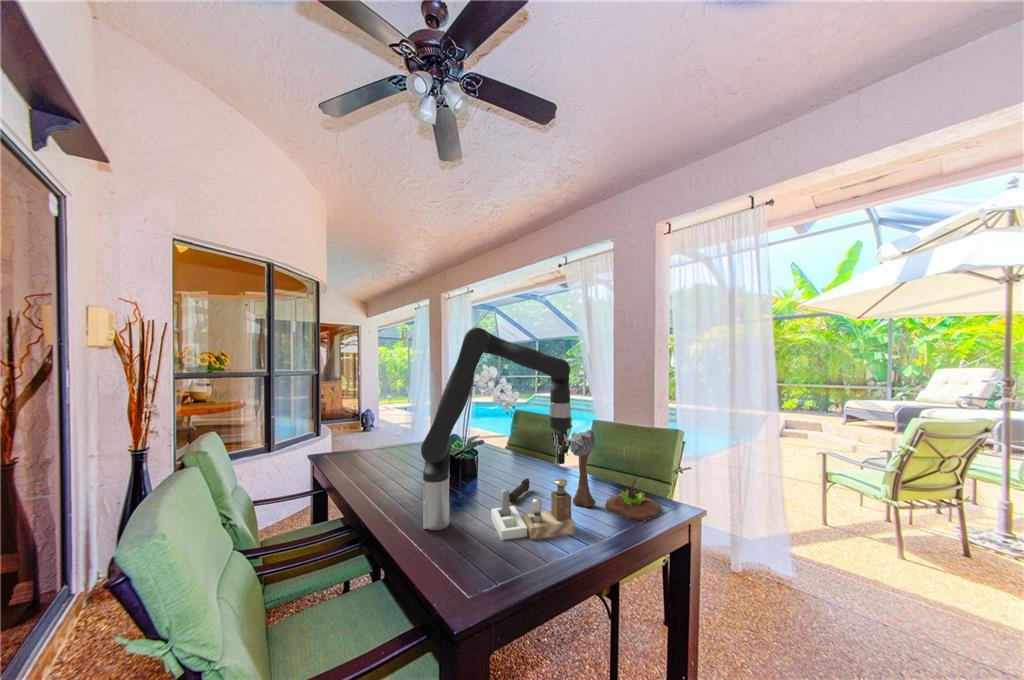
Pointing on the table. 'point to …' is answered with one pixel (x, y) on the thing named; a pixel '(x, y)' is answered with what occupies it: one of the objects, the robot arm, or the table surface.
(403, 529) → the table surface
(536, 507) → the grey rectangular bar
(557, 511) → the socket block
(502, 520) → the rack
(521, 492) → the hand tool
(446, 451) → the robot arm
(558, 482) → the gold topped knob
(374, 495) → the table surface
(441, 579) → the table surface
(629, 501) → the plant
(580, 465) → the tree sculpture
